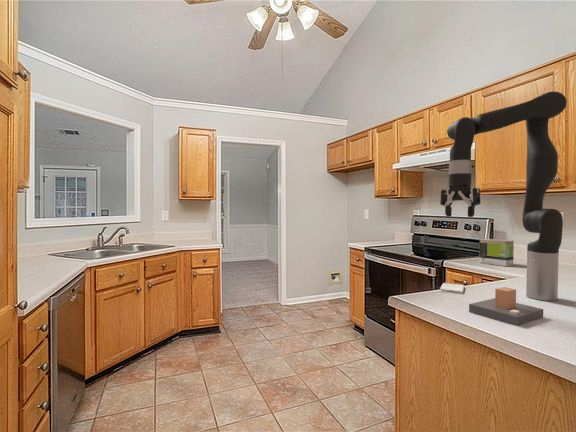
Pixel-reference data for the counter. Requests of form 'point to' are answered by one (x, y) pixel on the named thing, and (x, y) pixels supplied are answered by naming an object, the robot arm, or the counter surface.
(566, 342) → the counter surface
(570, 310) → the counter surface
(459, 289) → the hard drive
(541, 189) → the robot arm
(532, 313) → the socket board
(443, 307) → the counter surface
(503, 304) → the plug
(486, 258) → the tea box
